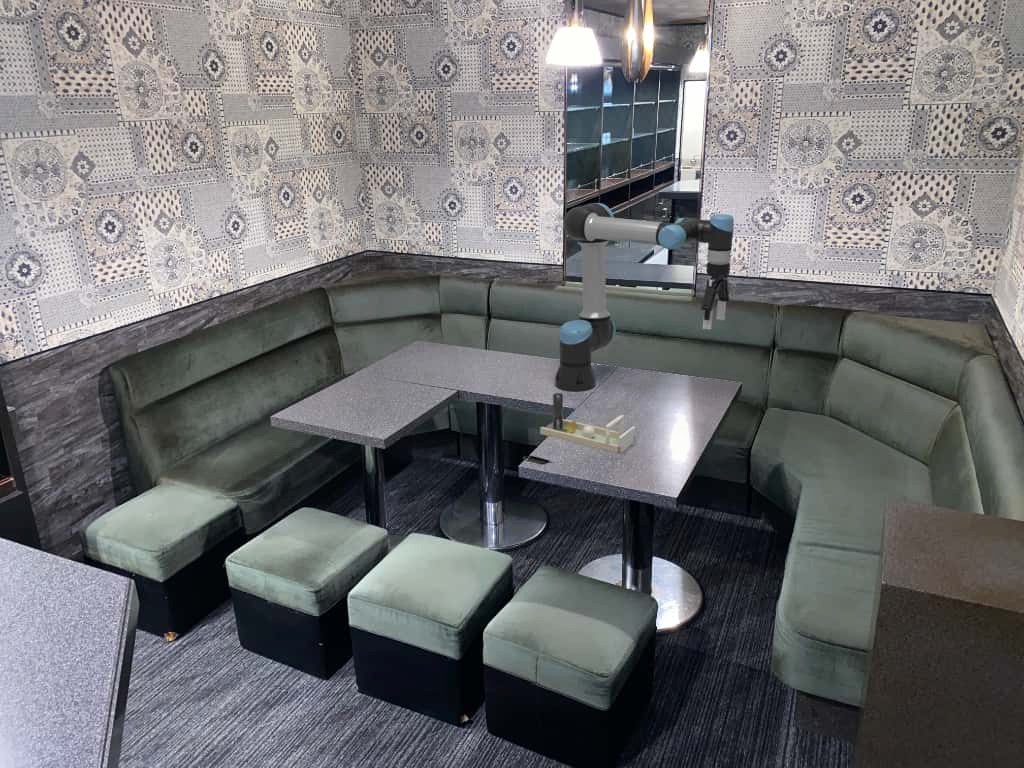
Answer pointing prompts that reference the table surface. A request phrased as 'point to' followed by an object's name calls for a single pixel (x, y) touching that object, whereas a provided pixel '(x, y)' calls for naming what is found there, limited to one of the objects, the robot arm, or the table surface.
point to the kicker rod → (560, 416)
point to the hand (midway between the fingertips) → (713, 324)
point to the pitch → (597, 436)
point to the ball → (588, 431)
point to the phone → (535, 459)
